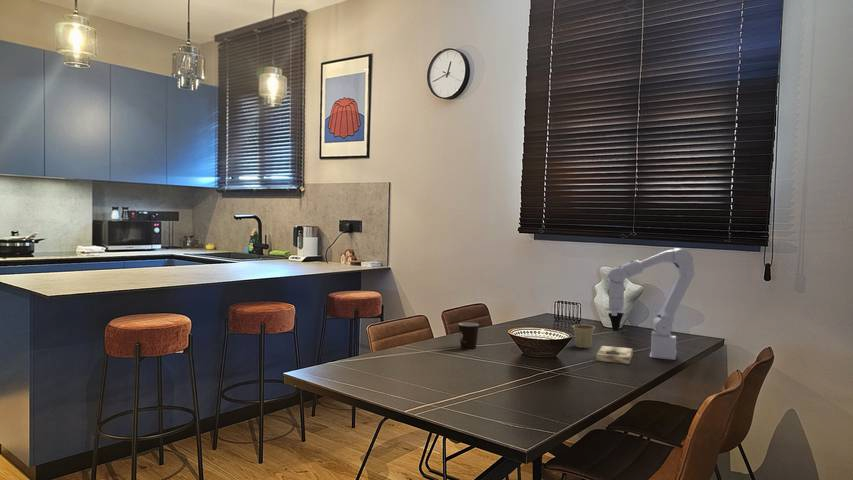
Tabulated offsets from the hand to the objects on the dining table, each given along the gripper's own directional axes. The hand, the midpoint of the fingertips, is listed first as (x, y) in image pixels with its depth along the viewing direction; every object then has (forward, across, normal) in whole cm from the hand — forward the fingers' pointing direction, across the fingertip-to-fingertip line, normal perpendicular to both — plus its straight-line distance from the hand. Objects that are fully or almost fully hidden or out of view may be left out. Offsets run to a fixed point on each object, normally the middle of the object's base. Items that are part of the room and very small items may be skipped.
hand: (615, 331), depth 237 cm
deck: (+10, +5, 0) cm, 11 cm away
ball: (+8, +9, 0) cm, 12 cm away
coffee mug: (+10, +14, -58) cm, 61 cm away
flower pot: (+10, -9, -14) cm, 19 cm away
